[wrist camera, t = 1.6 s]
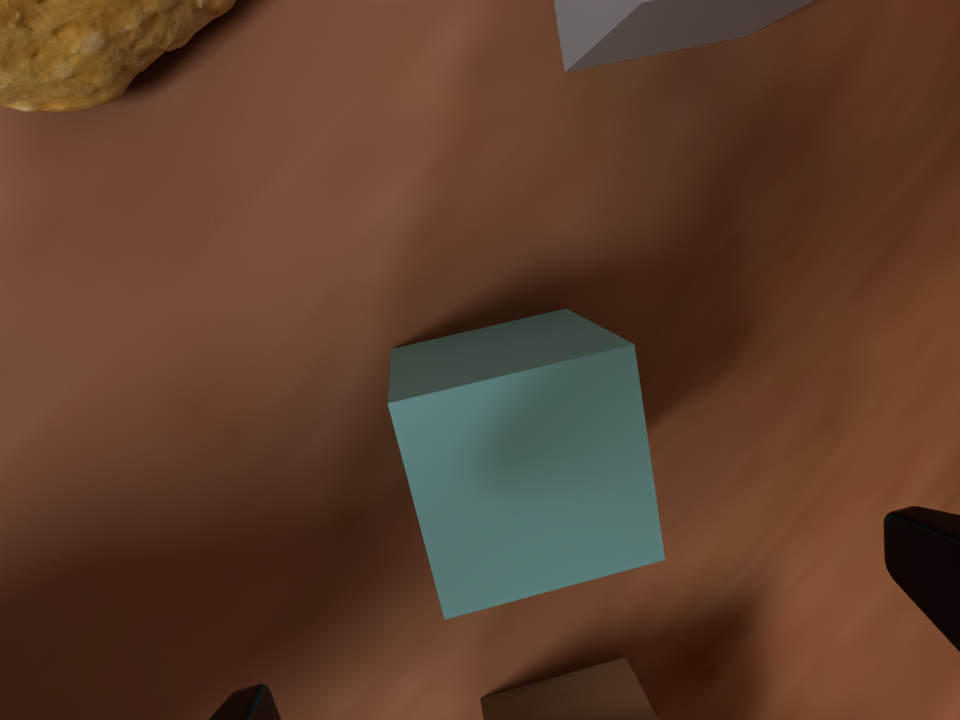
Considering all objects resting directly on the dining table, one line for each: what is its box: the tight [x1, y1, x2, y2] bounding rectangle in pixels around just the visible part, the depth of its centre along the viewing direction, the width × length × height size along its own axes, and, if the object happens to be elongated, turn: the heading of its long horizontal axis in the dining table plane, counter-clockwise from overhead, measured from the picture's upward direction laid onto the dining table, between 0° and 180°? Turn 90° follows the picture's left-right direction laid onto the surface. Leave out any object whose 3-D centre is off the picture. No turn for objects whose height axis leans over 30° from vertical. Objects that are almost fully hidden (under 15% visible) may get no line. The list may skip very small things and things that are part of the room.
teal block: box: [388, 309, 665, 620], centre depth 14 cm, size 5×5×5 cm
